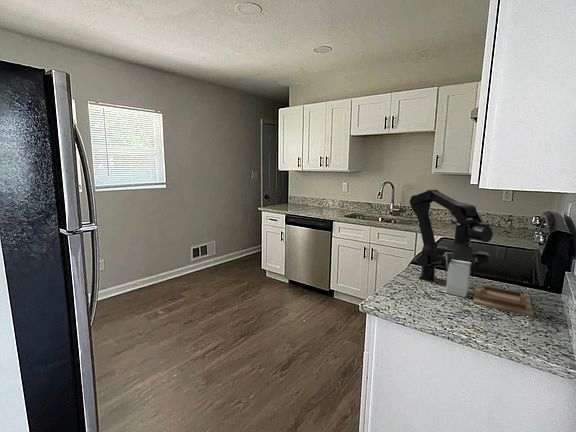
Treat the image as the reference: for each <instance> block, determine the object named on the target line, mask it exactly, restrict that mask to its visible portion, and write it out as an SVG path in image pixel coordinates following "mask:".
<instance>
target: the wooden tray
mask: <svg viewBox="0 0 576 432" xmlns="http://www.w3.org/2000/svg"><path fill="white" fill-rule="evenodd" d="M472 299H473V300H472V304H477V305H481V306H485V307H490V308H495V309H499V310H504V311H509V312H513V313H518V314H523V315H528V316H532V317H534V310H533V306H532V303H531V298H530V294H528V293H524V292H521V291H516V290H515V291H514V290H510V289H505V288H498V287H495V286H488V285H482V284H481V285H480V284H476V285H475V289H474V293H473V298H472Z"/></svg>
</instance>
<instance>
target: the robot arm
mask: <svg viewBox="0 0 576 432" xmlns="http://www.w3.org/2000/svg"><path fill="white" fill-rule="evenodd" d="M432 203H436V204H438V205H439V206H441V207H443V208H444V209H446V210H448V211H449V212H450V214H451V216H453V218H455V219H454V220H452V221H451V222H450V223H451V224H454V225H455V228H454V238H453V239H454V241H453V245H452V249H448V247H447V246H443V245H438V244H437V242H436V239H435V235H434V231H433V227H432V223H431V217H430V214H429V212H430V208H431V204H432ZM409 205H410V207H411V210H412V211H413V212H414V213H415V214H416V217H417V220H418V221H417V222H418V226H419V229H420V233H421V238H422V244H423V246H422V250H421V256H420V257H419V258H418V259H416V261H417V262H416V264H417V265H418V266H420V267H421V271H420V275H419V277H418V279H419V280H423V281H429V282H435V281H436V280H437V276H436V267H440V266H441V264H443V267H444V272H445V273H448V255H452V256H451V257H452V258H453V259H460V260H462V261H465V260H467V258H472V259H473V258H474V259H475V261H474V264H473V267H472V269H471V270H472V271H471V274H470V278H471V277H472V278H473V277H474V274H475V273H476V271H477V269H478V268H479V267H480V265H484V264H485V263H489V259H490V257H489V256H490V253H488V252H487V251H480V250H477V253H476V252H474V247H472V246H471V242H472V241H471V240H474V241H477V242H482V243H488V242H490V241H491V240H492V238H493V235H494V232H493V230H492V228H491V227H490V225H491V224H490V223H483V221H482V219H481V217H480V215H479V213H478V211H477V207H476V206H475V205H473V204H469V203H466V202H460V201H458V200H455V199H454V198H452V197H450V196H448V195H446V194H445V193H442V192H441V191H439V190H438V189H427V190H426V191H423V192H422V193H417V194H413V195H412V196H411V197H410V199H409Z"/></svg>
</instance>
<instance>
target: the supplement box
mask: <svg viewBox="0 0 576 432" xmlns="http://www.w3.org/2000/svg"><path fill="white" fill-rule="evenodd" d="M471 270H472V262H470V261H465V260H457V259H451V260H450V261H449V263H448V266H447V277H446V288H445V289H446V290H445V293H446V294H451V295H455V296H459V297H463V298H467V295H468V292H469V288H470V287H469V286H470V279H471V272H472V271H471Z"/></svg>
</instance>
